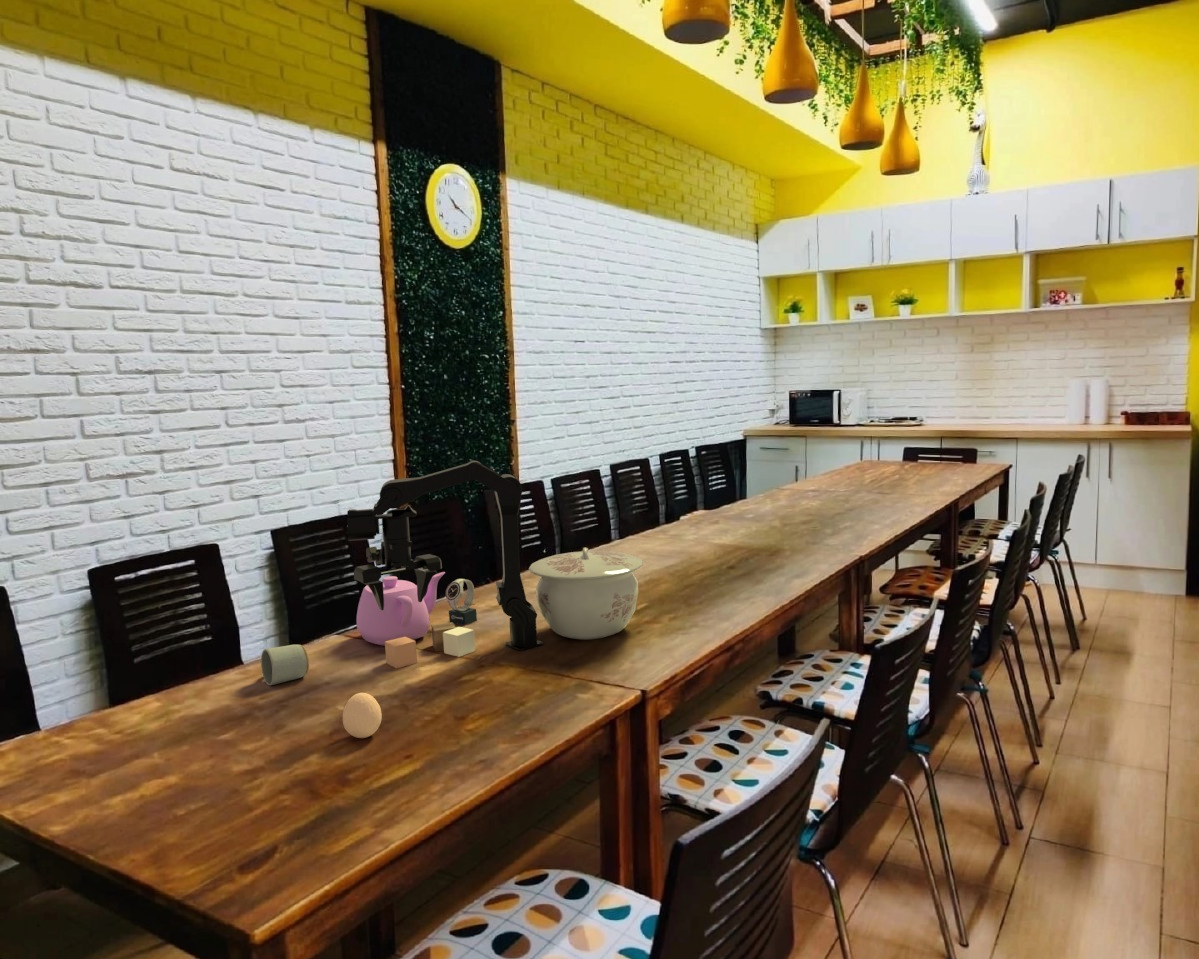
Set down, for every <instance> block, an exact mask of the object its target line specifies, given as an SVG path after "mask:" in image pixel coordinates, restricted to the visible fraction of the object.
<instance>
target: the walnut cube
mask: <svg viewBox="0 0 1199 959" xmlns="http://www.w3.org/2000/svg"><path fill="white" fill-rule="evenodd" d="M430 625H431V637H432V646H433V649H434V650H435V652H442V651H444V643H443V632H445V631H448V630H451V629H454V628H457V626H456V624H455V623H453V622H444V623H438V624H437V623H436V624H430Z"/></svg>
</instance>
